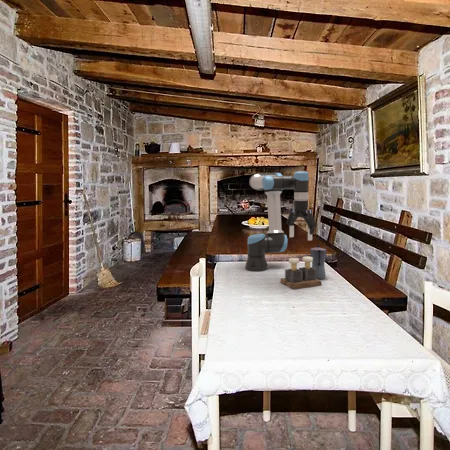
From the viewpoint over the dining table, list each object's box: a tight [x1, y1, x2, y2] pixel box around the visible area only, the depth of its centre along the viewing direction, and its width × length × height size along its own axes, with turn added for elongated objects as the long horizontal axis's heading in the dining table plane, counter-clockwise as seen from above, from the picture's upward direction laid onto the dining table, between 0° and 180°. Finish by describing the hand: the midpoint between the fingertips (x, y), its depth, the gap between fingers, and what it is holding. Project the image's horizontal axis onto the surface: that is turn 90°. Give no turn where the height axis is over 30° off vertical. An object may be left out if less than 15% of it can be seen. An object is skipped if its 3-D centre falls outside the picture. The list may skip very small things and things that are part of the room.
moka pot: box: [309, 244, 327, 280], centre depth 204 cm, size 10×15×20 cm, turn 174°
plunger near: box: [288, 257, 300, 272], centre depth 189 cm, size 6×6×8 cm
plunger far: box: [302, 255, 313, 270], centre depth 193 cm, size 6×6×8 cm
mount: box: [280, 266, 323, 290], centre depth 192 cm, size 14×18×8 cm
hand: (300, 238), depth 188 cm, fingers open, 13 cm apart
